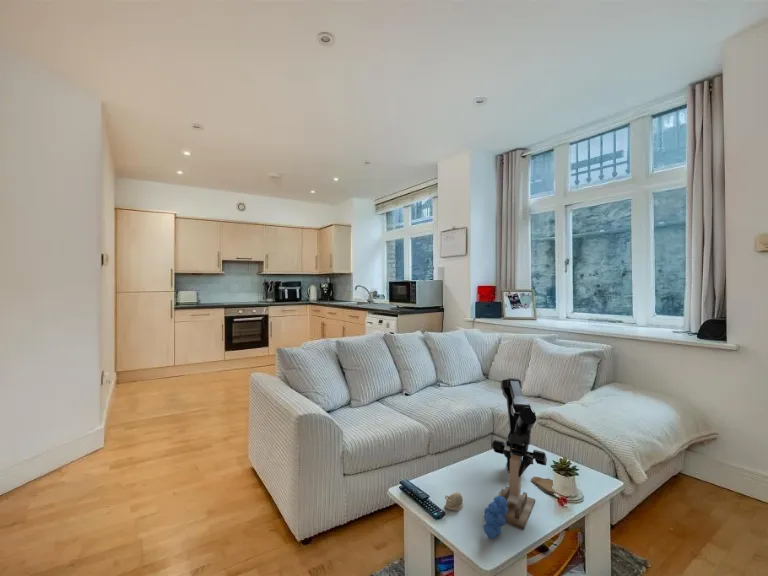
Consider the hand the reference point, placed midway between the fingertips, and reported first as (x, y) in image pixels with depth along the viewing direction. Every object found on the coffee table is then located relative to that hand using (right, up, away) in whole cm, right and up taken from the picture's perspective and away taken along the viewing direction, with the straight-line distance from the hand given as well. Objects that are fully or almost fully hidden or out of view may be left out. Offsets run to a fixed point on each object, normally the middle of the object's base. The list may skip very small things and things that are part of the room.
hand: (514, 475), depth 131 cm
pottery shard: (+18, -12, +12) cm, 24 cm away
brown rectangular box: (+1, -7, +1) cm, 7 cm away
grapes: (-12, -12, -14) cm, 22 cm away
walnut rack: (-1, -11, -1) cm, 11 cm away
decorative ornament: (-22, -11, -1) cm, 25 cm away
